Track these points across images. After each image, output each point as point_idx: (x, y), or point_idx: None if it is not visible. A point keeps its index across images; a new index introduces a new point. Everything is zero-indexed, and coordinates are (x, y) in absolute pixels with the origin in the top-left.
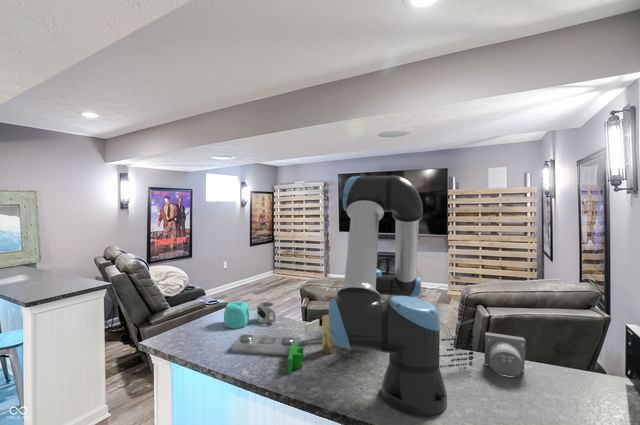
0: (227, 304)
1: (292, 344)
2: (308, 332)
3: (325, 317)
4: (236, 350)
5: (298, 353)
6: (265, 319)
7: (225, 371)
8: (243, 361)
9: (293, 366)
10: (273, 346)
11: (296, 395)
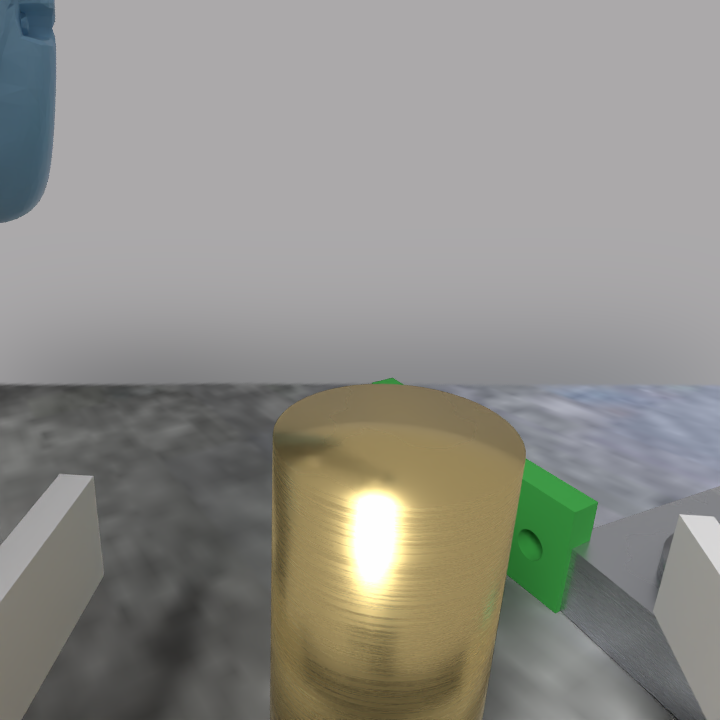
0: None
1: (556, 482)
2: (664, 634)
3: (422, 406)
4: None
5: None
6: None
7: (628, 388)
8: (688, 446)
9: None
10: (699, 495)
11: (226, 390)
